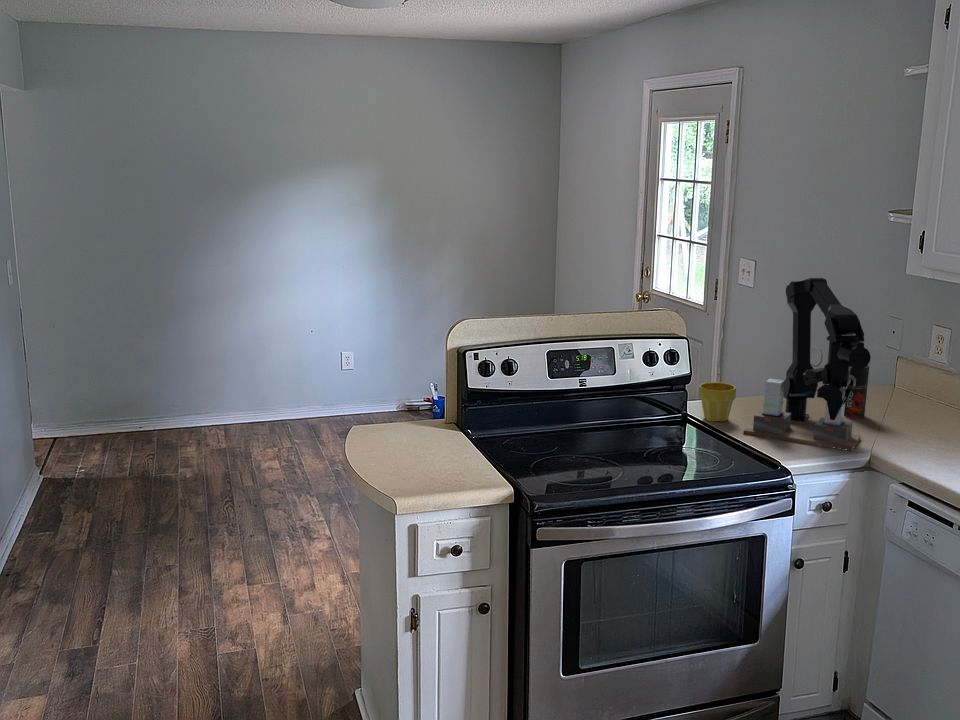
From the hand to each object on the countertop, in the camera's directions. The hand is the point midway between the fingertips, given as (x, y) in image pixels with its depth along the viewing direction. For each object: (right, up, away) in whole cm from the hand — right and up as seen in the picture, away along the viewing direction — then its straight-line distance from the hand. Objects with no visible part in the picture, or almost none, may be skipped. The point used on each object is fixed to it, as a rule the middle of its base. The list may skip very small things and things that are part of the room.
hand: (834, 417), depth 245 cm
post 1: (-14, +1, +9) cm, 16 cm away
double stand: (-7, -5, +6) cm, 10 cm away
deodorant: (+15, -1, +25) cm, 30 cm away
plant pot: (-26, -2, +22) cm, 34 cm away
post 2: (0, -5, +1) cm, 5 cm away
